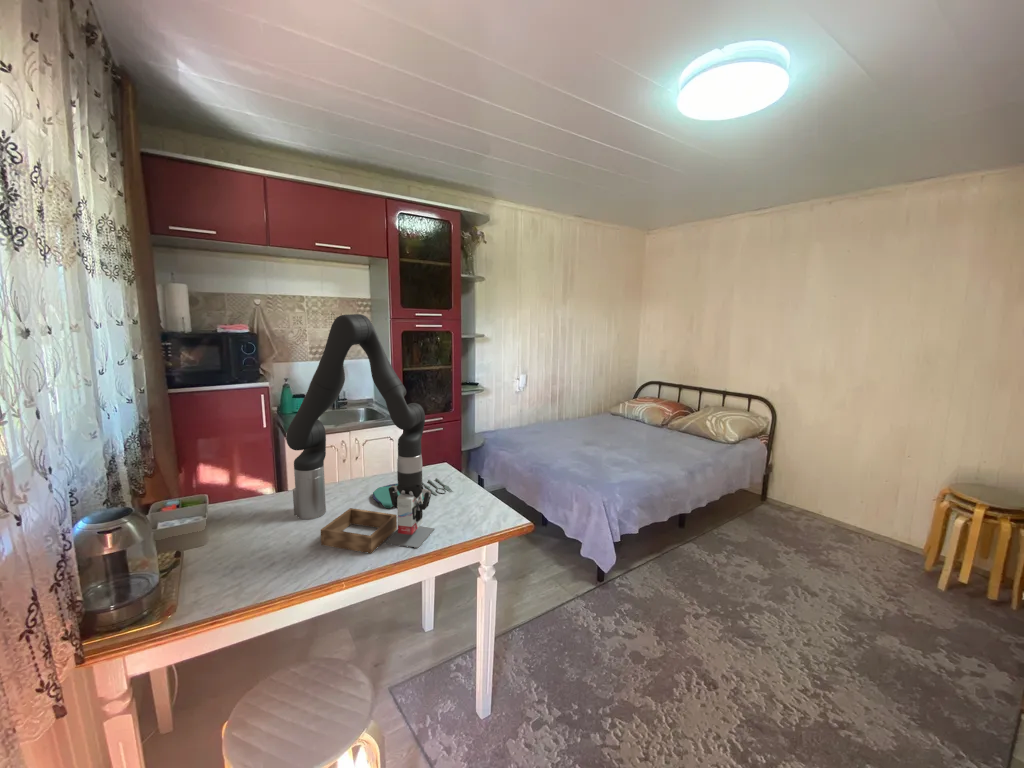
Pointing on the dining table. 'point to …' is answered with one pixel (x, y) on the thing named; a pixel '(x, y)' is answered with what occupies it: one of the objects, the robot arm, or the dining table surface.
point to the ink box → (407, 514)
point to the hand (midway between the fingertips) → (410, 519)
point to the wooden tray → (353, 541)
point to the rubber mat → (411, 537)
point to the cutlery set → (384, 498)
